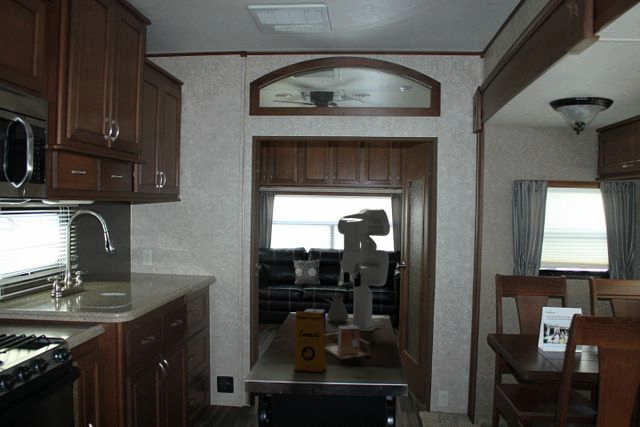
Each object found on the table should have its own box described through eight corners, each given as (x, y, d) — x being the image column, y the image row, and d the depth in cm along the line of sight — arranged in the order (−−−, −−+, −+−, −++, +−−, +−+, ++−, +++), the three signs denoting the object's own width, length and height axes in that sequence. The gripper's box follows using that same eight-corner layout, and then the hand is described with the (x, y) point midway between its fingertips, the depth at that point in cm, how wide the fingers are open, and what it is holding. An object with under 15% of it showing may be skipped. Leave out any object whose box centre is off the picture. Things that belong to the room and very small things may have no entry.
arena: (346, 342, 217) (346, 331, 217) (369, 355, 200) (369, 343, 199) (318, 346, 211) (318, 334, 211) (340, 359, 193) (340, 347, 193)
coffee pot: (350, 319, 263) (350, 292, 262) (346, 324, 251) (346, 295, 251) (312, 316, 268) (312, 290, 268) (307, 321, 257) (307, 293, 256)
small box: (340, 354, 196) (340, 329, 196) (337, 350, 202) (337, 325, 201) (359, 353, 197) (359, 328, 197) (356, 349, 203) (356, 325, 203)
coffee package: (323, 375, 175) (324, 315, 174) (290, 372, 178) (291, 313, 177) (329, 366, 184) (329, 309, 184) (298, 364, 187) (298, 308, 187)
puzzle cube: (321, 334, 231) (322, 314, 231) (301, 333, 233) (301, 312, 233) (325, 329, 241) (325, 309, 241) (306, 328, 243) (306, 308, 243)
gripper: (335, 245, 224) (335, 281, 225) (354, 250, 209) (354, 289, 210) (349, 244, 228) (349, 280, 229) (369, 249, 212) (369, 287, 213)
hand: (352, 284), depth 219 cm, fingers open, 9 cm apart
